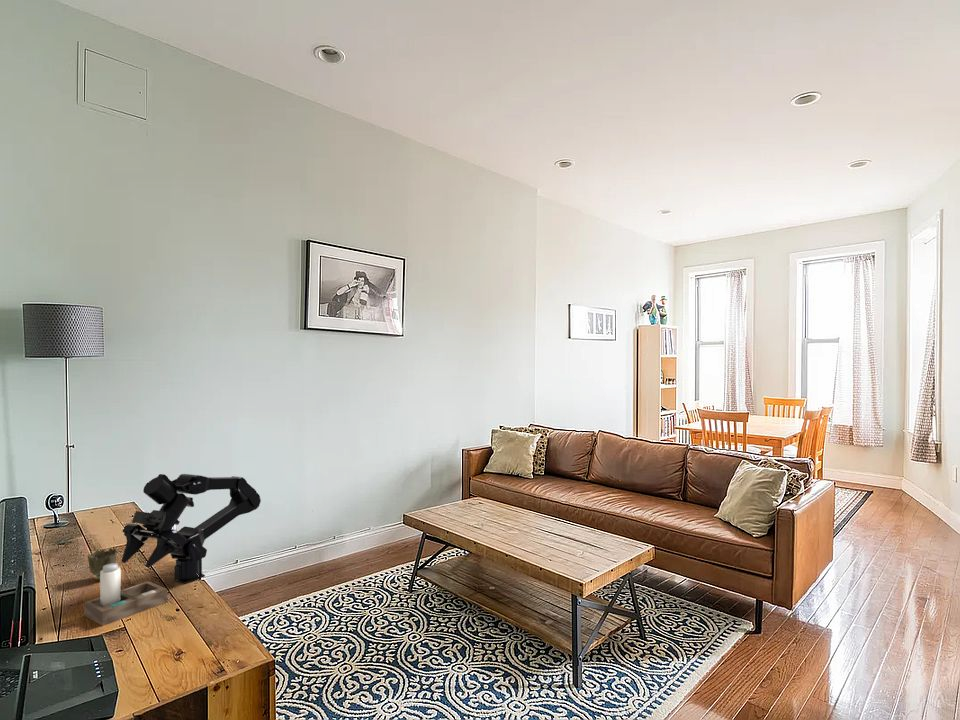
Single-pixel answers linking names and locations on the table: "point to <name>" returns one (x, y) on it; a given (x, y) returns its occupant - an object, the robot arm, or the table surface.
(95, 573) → the cup
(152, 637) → the table surface
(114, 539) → the table surface
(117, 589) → the plug
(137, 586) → the socket block
